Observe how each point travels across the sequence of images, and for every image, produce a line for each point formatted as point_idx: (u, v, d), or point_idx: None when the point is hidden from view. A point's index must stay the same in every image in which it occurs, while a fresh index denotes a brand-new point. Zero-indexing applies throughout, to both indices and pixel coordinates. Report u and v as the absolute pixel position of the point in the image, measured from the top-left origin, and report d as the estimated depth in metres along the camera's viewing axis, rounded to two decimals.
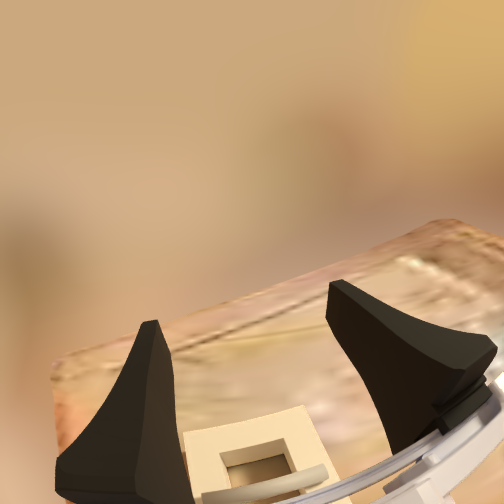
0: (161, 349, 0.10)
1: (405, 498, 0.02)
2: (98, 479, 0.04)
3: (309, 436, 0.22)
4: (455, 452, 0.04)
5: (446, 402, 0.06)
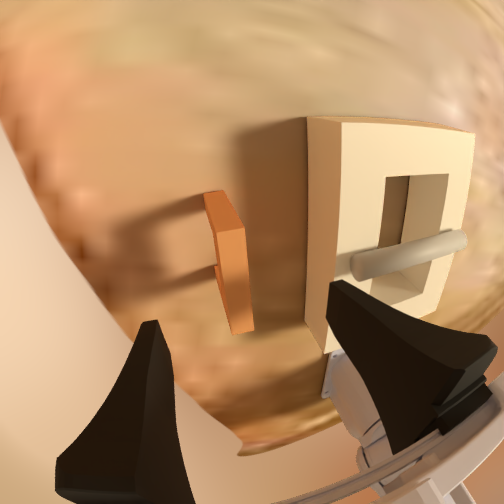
0: (161, 349, 0.10)
1: (405, 498, 0.02)
2: (98, 479, 0.04)
3: (464, 182, 0.16)
4: (455, 452, 0.04)
5: (446, 402, 0.06)
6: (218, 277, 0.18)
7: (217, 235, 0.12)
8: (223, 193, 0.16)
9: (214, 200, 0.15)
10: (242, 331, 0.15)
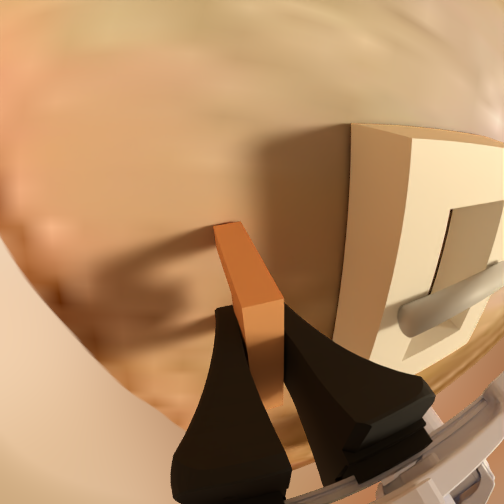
0: None
1: (405, 498, 0.02)
2: (243, 466, 0.04)
3: None
4: (455, 452, 0.04)
5: (362, 450, 0.05)
6: None
7: (243, 310, 0.08)
8: (241, 227, 0.12)
9: (230, 239, 0.11)
10: (268, 407, 0.11)
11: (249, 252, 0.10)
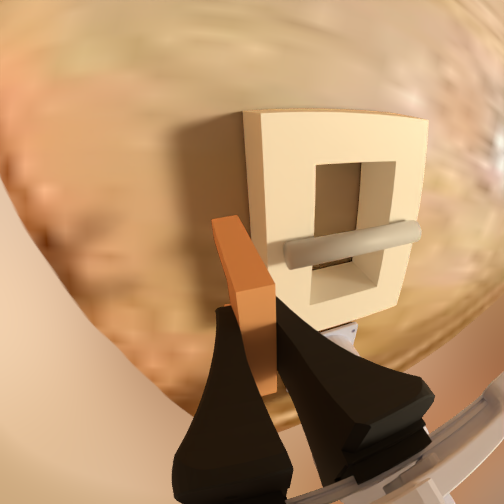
0: None
1: (405, 498, 0.02)
2: (244, 466, 0.04)
3: (417, 171, 0.17)
4: (455, 452, 0.04)
5: (362, 450, 0.05)
6: None
7: (237, 295, 0.09)
8: (238, 220, 0.13)
9: (227, 231, 0.12)
10: (262, 394, 0.12)
11: (244, 242, 0.11)
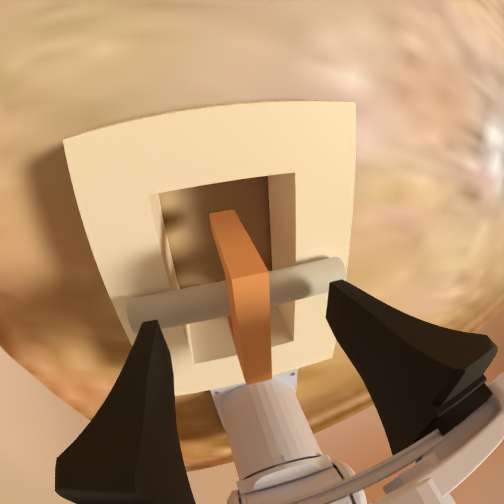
0: (161, 349, 0.10)
1: (405, 498, 0.02)
2: (98, 479, 0.04)
3: (340, 184, 0.13)
4: (455, 452, 0.04)
5: (446, 402, 0.06)
6: None
7: (233, 282, 0.09)
8: (234, 214, 0.13)
9: (224, 224, 0.12)
10: (258, 381, 0.12)
11: (240, 234, 0.12)
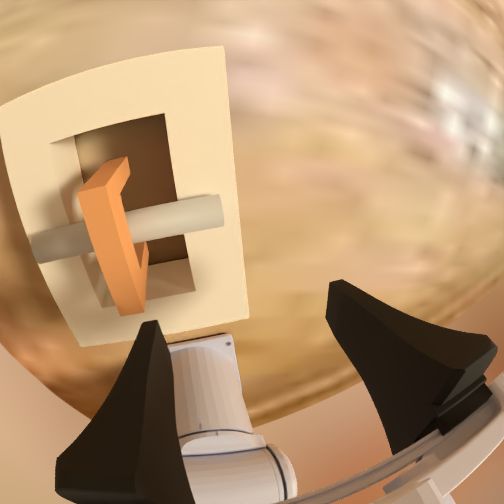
0: (161, 349, 0.10)
1: (405, 498, 0.02)
2: (98, 479, 0.04)
3: (213, 121, 0.13)
4: (455, 452, 0.04)
5: (446, 402, 0.06)
6: None
7: (79, 195, 0.09)
8: (123, 158, 0.13)
9: (108, 165, 0.12)
10: (131, 312, 0.12)
11: (112, 169, 0.12)
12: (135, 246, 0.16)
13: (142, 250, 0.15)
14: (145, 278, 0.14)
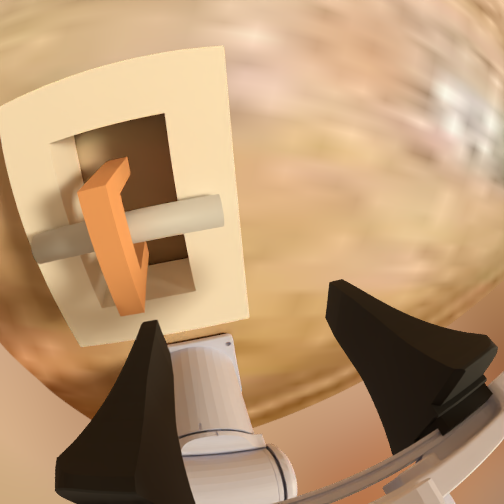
0: (161, 349, 0.10)
1: (405, 498, 0.02)
2: (98, 479, 0.04)
3: (213, 121, 0.13)
4: (455, 452, 0.04)
5: (446, 402, 0.06)
6: None
7: (79, 195, 0.09)
8: (124, 158, 0.13)
9: (108, 165, 0.12)
10: (131, 312, 0.12)
11: (112, 169, 0.12)
12: (135, 246, 0.16)
13: (142, 250, 0.15)
14: (145, 278, 0.14)
